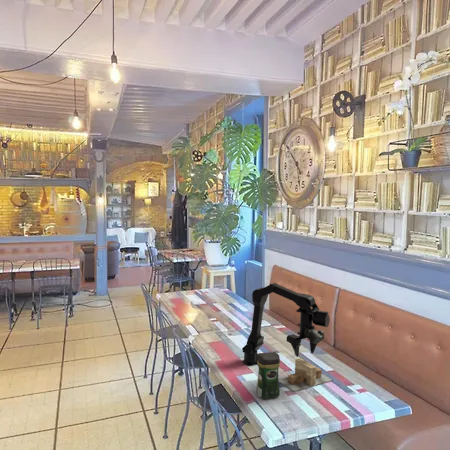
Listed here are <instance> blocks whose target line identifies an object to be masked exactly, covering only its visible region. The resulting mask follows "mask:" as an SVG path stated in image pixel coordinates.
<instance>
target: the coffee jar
mask: <svg viewBox="0 0 450 450" xmlns="http://www.w3.org/2000/svg"><path fill="white" fill-rule="evenodd" d="M280 359H281V358H280V355H279V353H278V352H276V351H272V352H271V351H270V352H260V353H259V352H258V359H257V363H258V364H257V367H258V372H257V373H258V375H257V383H256V388H255V389H256V390H255V391H256V395H257V397H258V398H260V399H262V400H270V399H271V400H272V399H277V398H279V396H280V383H279V379H280V378H279V368H280V365H281V360H280Z"/></svg>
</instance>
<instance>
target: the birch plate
mask: <svg viewBox="0 0 450 450" xmlns="http://www.w3.org/2000/svg"><path fill="white" fill-rule="evenodd" d="M294 362H295V363H294V364H295V365H294V374H295V373H298V372H299V373H301V374H303V377H305V378H306V383H307V384H309V385H310V386H311V385H314V384H316V368H317V366H315V365H314V364H311V363H310V362H308V361H306V360H304V359H302V358H301V357H300V358H299V357H298V358H295V360H294Z"/></svg>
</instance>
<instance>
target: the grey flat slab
mask: <svg viewBox="0 0 450 450" xmlns="http://www.w3.org/2000/svg"><path fill="white" fill-rule="evenodd" d="M278 379H279V384H281V385H282V386H284V387H285V388H287V389H288V390H290V391H291V392H293V393H295V392H299V391H302V390H305V389H309V388H312V387H315V386H320V385H323V384H327V383H330V382H333V381H334V379H332V378H331V377H328V376H327V375H325V374H323V373H322V369H320V368H319V367H316V384H314V385H311V386H310V385H309V384H307V383H306V378H305V377H303V374H301V373H299V372H298V373H295V372H294V373H291V374H288V376H286V377H283V378H282V377H281V378H278Z"/></svg>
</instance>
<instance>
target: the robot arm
mask: <svg viewBox="0 0 450 450" xmlns="http://www.w3.org/2000/svg"><path fill="white" fill-rule="evenodd" d="M272 293H273V294H276V295H278V296H280V297H282V298H285V299H287V300H289V301H292V302H293V303H294V304H295V305H296V306H297V307H298V309H297V310H295V312H296V313H300V315H299V316H300V317H299V318H300V319H299V323H298V324H297V326H299V331H297V335H296V334H293V333H292V334H287V336H286V342H287V343H289V344H290V346H291V347H292V350H293V351H294V355H295V357H296V358H299V356H300V355H299V354H300V347H301V345H302V341H304V340H309V348H310V353H311V354H314V353H315V351H316V348H317V346H318V344H319V343H320V342H322V341H323V340H324V339H325V334H324V333H325V332H324V331H323V330H316V329H315V327H316V326H320V327H322V328H323V327H324V328H328V327H329V325H330V321H331V319H330V314H329V312H328V311H325V310H320V308H319V306H318V304H317V303H316V300H315V297H314V296H313V295H312V294H306V293H301V292H300V293H299V292H296V291H295V290H294V291H293V290H292V289H289V288H288V287H287V288H286V287H284V286H282V285H280V284H278V283H276V282H273V283H270V284H268V285H266V286H264V287H260V288H257V289H254V290H253V291H252V293H251V298H252V303H253V313H252V321H251V331H250V333H249V336H248V337H247V340H246V343H245V344H246V345H244V346H243V347H242V348H241V349H242V353H243V360H242V363H244V364H245V365H246V366H248V367H251V366H256V365H258V363H257V359H258V354H259V352H258V351H259V350H260V348H261V347H262V346H263V345H264V338H265V336H262V333H261V332H262V323H263V315H264V313H263V312H264V307H265V305H266V302H267V301H268V296H269V295H270V294H272ZM313 324H314V325H313Z"/></svg>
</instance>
